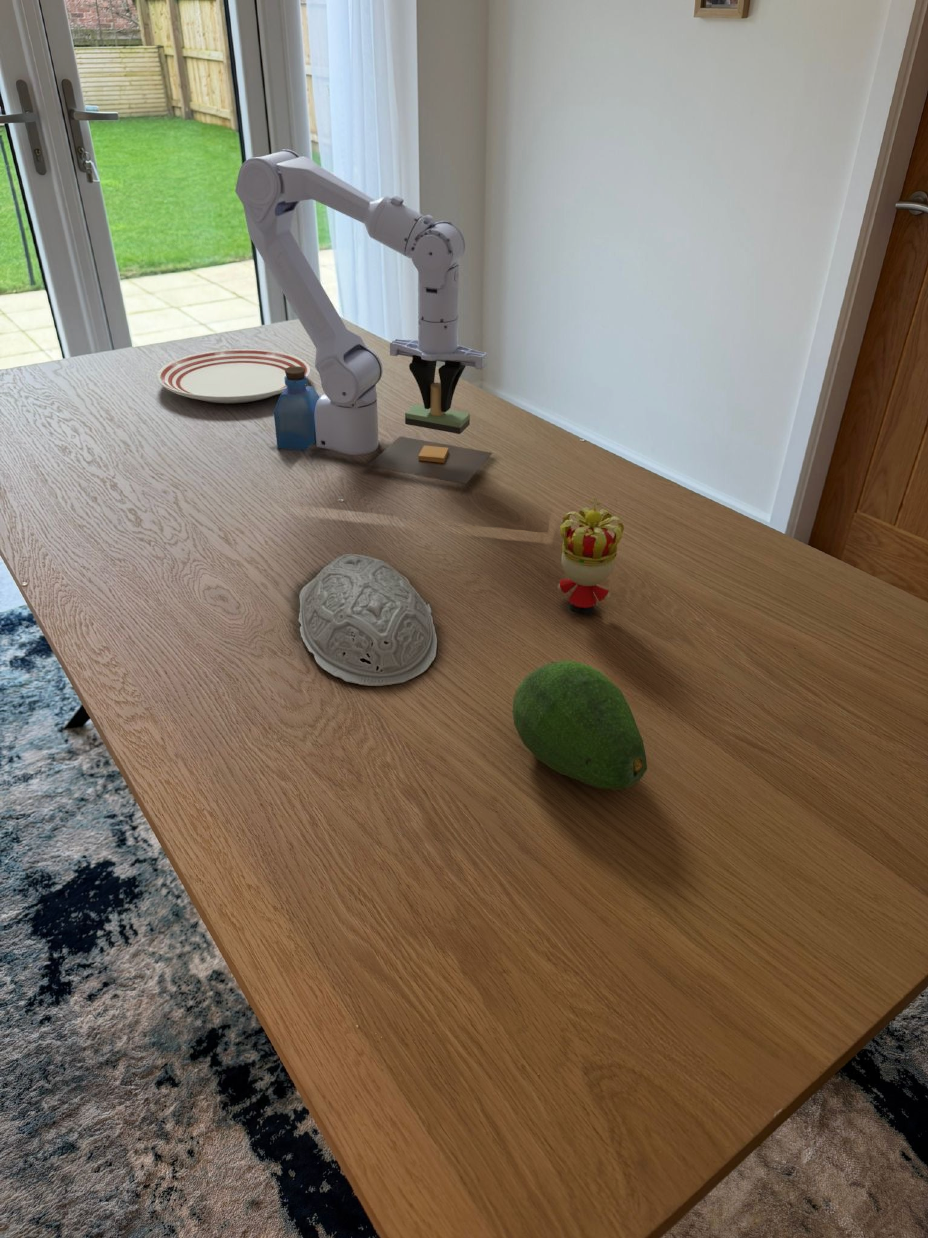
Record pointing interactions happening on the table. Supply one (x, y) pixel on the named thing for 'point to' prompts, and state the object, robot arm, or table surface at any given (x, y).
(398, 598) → the grey turtle shell
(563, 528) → the toy
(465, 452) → the tray
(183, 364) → the dinner plate
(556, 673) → the fruit
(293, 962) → the table surface
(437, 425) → the brush
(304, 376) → the perfume bottle
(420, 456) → the orange flat square block
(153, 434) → the table surface
